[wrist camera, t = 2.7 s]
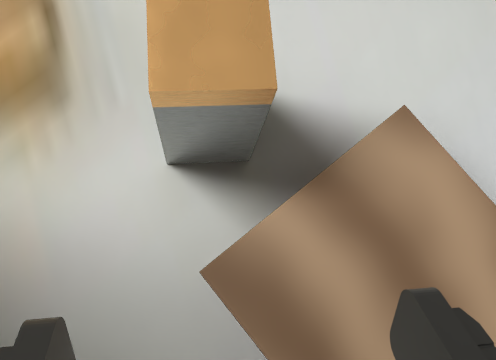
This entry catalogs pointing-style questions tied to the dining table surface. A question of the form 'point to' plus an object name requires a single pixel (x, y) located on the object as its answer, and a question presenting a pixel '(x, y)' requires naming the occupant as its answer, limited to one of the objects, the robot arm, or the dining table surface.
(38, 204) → the dining table surface
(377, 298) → the stand
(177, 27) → the block
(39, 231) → the dining table surface
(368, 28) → the dining table surface
